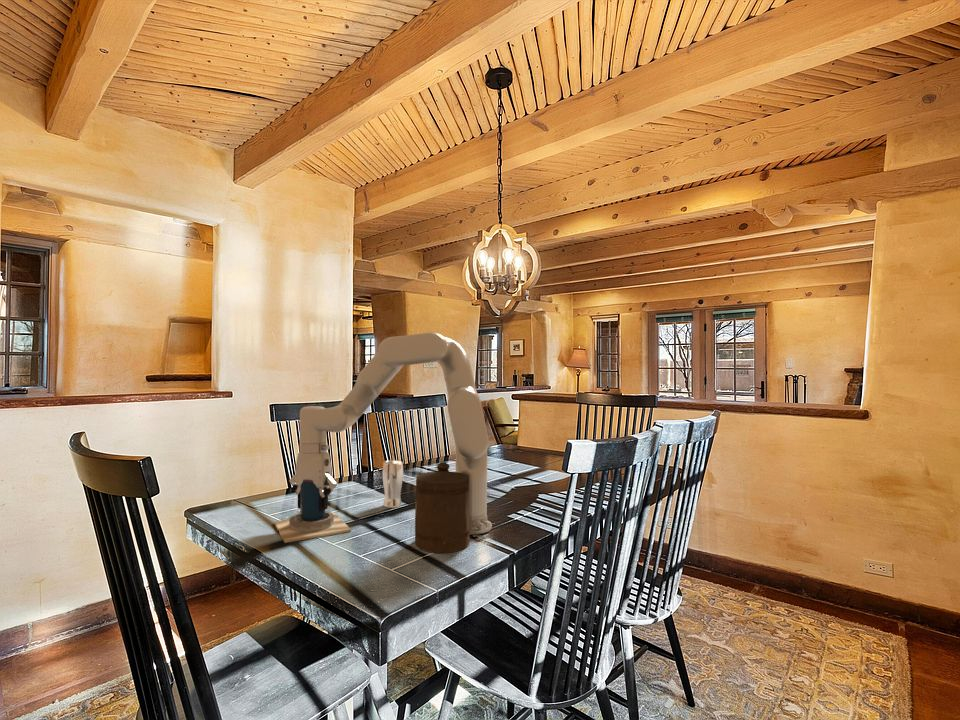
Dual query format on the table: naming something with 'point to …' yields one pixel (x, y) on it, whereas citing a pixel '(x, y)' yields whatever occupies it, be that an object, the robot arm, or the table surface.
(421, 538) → the wooden container
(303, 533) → the collar plate
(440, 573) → the table surface
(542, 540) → the table surface
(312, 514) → the soda can
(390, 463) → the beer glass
